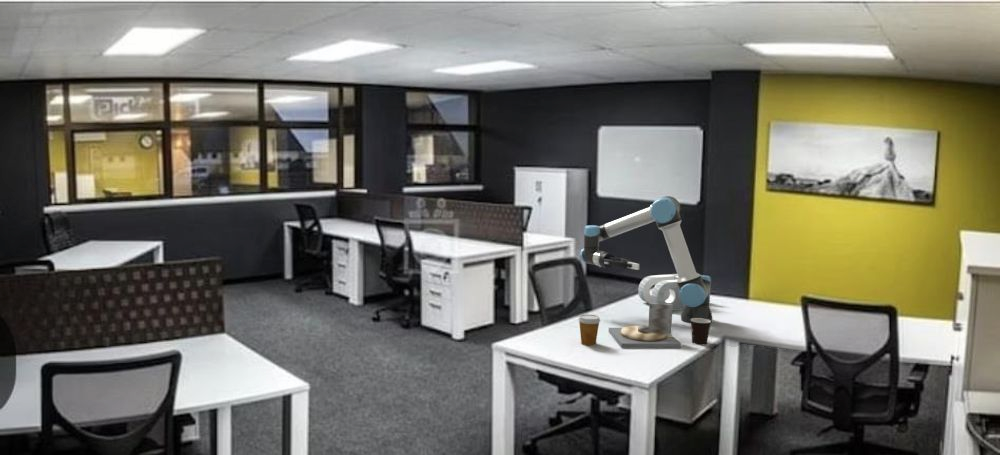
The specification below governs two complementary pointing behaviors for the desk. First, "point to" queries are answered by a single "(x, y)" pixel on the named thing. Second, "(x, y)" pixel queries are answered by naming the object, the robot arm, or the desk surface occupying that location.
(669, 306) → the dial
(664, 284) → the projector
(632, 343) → the base
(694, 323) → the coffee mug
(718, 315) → the desk surface
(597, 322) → the disposable coffee cup
